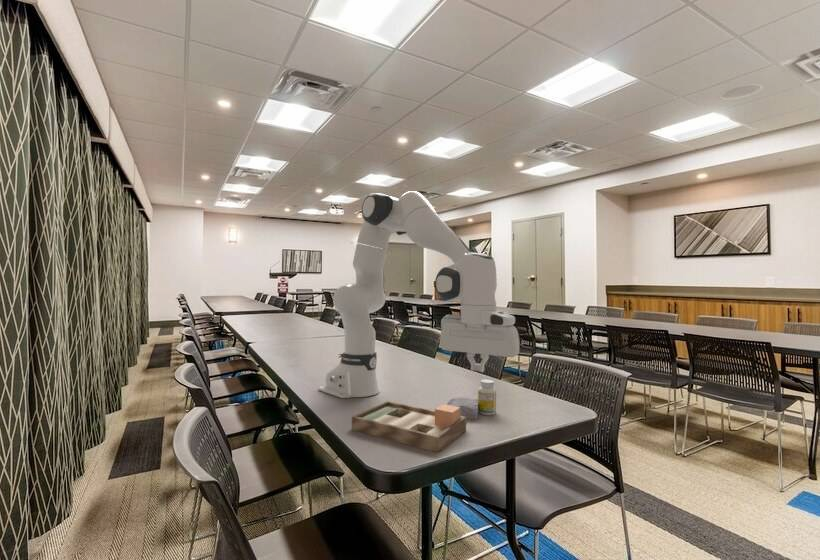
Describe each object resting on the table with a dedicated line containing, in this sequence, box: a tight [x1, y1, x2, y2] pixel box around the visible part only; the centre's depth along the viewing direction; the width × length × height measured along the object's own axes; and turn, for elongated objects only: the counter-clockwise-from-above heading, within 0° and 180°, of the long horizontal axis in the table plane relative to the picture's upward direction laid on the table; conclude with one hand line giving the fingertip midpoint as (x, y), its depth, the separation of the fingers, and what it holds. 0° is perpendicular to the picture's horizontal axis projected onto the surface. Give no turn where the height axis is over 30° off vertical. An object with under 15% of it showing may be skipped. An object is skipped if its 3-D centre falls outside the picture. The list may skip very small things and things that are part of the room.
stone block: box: [446, 396, 479, 421], centre depth 117 cm, size 12×5×10 cm
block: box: [434, 403, 460, 427], centre depth 100 cm, size 5×5×4 cm
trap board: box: [351, 400, 467, 453], centre depth 102 cm, size 26×17×3 cm, turn 59°
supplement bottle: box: [477, 379, 497, 416], centre depth 117 cm, size 5×5×10 cm
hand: (477, 371), depth 96 cm, fingers closed
